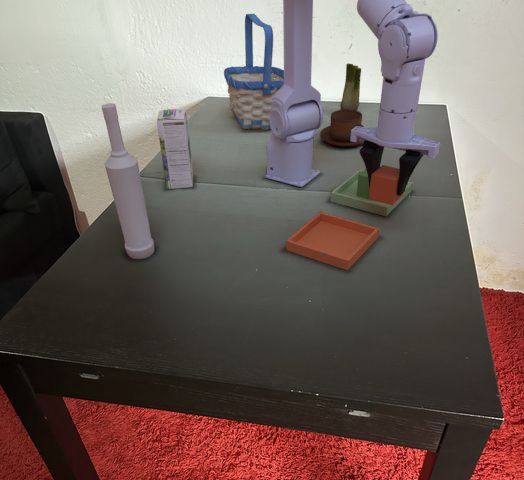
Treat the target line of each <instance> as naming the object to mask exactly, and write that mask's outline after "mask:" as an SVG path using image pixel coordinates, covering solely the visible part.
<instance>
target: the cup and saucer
mask: <svg viewBox="0 0 524 480" xmlns="http://www.w3.org/2000/svg"><path fill="white" fill-rule="evenodd" d="M362 121H363V114H362V113H361V112H360V111H358V110H357V111H354V110H341V109H339V110H335V111H332V112H331V113H330V125H328V126H325V127H324V128H323V129H321V130H320V133H319V135H320V138H321V140H323V141H324V142H326V143H327V144H329V145H332V146H336V147H355V146H359V145H363V142H360V141H357V142H351V141H350V140H351V130H352V129H353V128H355V127H356V126H359V127H365V126H364V125H363V124H362Z"/></svg>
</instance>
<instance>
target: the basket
mask: <svg viewBox="0 0 524 480" xmlns="http://www.w3.org/2000/svg"><path fill="white" fill-rule="evenodd" d="M254 24H255V25H256V26H258V27H260V28H262V29H263V32H264V50H263V51H264V53H263V54H264V55H263V66H259V65H255V66H254V43H253V41H254V37H253V34H254V33H253V25H254ZM244 47H245V48H244V49H245V54H244V55H245V65H243V66H230V67H225V68H224V70H223V76H224V80H225V82H226V85H227V94H229V95H228V96H229V97H228V99H229V102H230V103H229V106H230V109H231V113H232V114H233V115H234V117H236V121H237V123H238V124H240V125H241V127H242V129H243V130H249V129H260V130H263V131H264V130H265V131H269V130H271V127H270V123H269V115H270V111H271V106H272V97H273V95H274V94H275V93H276V92H277V91H278V90H279V89H280V88H281V87H282V86H283V84H284V69H282V68H280V67H276V66H273V53H274V51H273V50H274V31H273V27H272V25H271V24H268V23H265V22H263V21H262V20H261V19H260V18H259V17H258V16H257V15H256V14H255V13H246V14H245V16H244Z"/></svg>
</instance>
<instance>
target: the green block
mask: <svg viewBox="0 0 524 480" xmlns="http://www.w3.org/2000/svg"><path fill="white" fill-rule="evenodd" d="M362 171H363V172H361V173H360V174H359V175H358V185H357V196H358V197H362V198H366V199H369V192H370V188H369V180H368V174H367V170H366V168H365V169H364V170H362ZM373 201H374V200H373Z"/></svg>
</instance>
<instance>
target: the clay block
mask: <svg viewBox="0 0 524 480" xmlns="http://www.w3.org/2000/svg"><path fill="white" fill-rule="evenodd" d="M398 180H399V168H398V167H393V166H389V165H385V164H382V165H380V168H379V169H377V170H376V171H375V172H374V173H373V174H372V175H371V184H370V192H369V199H370V200H374V201H378V202H381V203H385V204H389V205H394V204H395V203H396V201H397V200H398V199H399V198H400V197H401V196H402V195H403V194H402V195H397V185H398Z"/></svg>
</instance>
